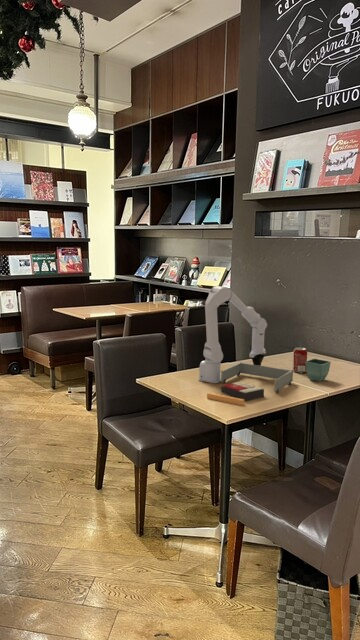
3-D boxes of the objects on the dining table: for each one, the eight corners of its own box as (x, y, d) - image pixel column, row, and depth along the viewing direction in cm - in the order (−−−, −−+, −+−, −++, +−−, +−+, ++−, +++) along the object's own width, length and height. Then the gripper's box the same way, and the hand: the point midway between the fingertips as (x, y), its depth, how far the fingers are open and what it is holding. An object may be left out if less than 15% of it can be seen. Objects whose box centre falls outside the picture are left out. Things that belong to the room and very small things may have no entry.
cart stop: (207, 398, 189) (207, 393, 189) (208, 397, 191) (209, 392, 190) (242, 405, 181) (242, 400, 180) (244, 404, 182) (244, 399, 182)
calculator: (239, 380, 204) (264, 387, 192) (239, 390, 204) (264, 397, 192) (220, 384, 198) (245, 391, 185) (220, 394, 198) (245, 402, 186)
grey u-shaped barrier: (220, 383, 211) (221, 370, 210) (239, 374, 227) (240, 362, 226) (276, 393, 196) (277, 380, 195) (292, 383, 212) (293, 370, 212)
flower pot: (321, 383, 213) (322, 364, 211) (304, 379, 218) (305, 361, 217) (330, 379, 219) (331, 361, 218) (312, 376, 225) (313, 358, 224)
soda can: (306, 373, 230) (308, 350, 228) (292, 372, 231) (293, 349, 229) (305, 370, 236) (307, 347, 234) (292, 369, 237) (293, 346, 236)
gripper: (259, 345, 213) (258, 374, 215) (271, 340, 225) (270, 367, 227) (245, 343, 217) (244, 371, 219) (258, 339, 229) (257, 365, 231)
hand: (257, 369), depth 223 cm, fingers closed
